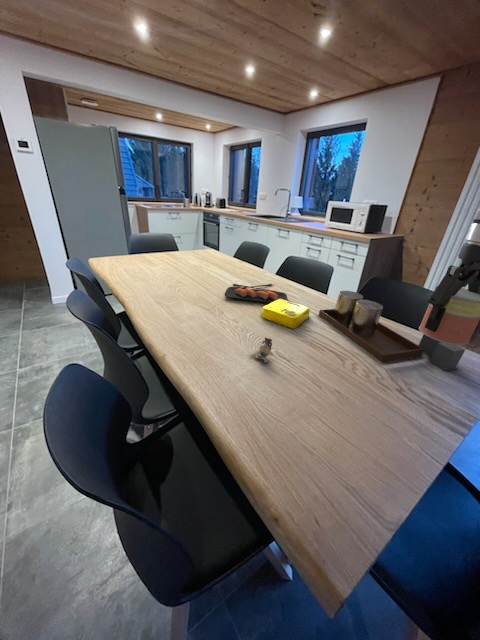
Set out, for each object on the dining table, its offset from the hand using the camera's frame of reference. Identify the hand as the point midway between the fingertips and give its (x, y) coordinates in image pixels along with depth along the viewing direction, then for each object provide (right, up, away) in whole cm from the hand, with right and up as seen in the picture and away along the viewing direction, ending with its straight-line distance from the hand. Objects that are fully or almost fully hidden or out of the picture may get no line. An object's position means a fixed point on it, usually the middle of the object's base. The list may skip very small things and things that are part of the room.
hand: (445, 327), depth 71 cm
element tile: (-37, +3, +37) cm, 52 cm away
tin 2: (-10, -2, +29) cm, 30 cm away
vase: (-48, -9, +9) cm, 50 cm away
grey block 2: (+9, -12, +13) cm, 20 cm away
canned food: (0, -2, +1) cm, 2 cm away
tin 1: (-13, +2, +37) cm, 39 cm away
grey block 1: (+9, -9, +20) cm, 23 cm away
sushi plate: (-47, +16, +61) cm, 78 cm away
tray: (-9, -4, +28) cm, 30 cm away
